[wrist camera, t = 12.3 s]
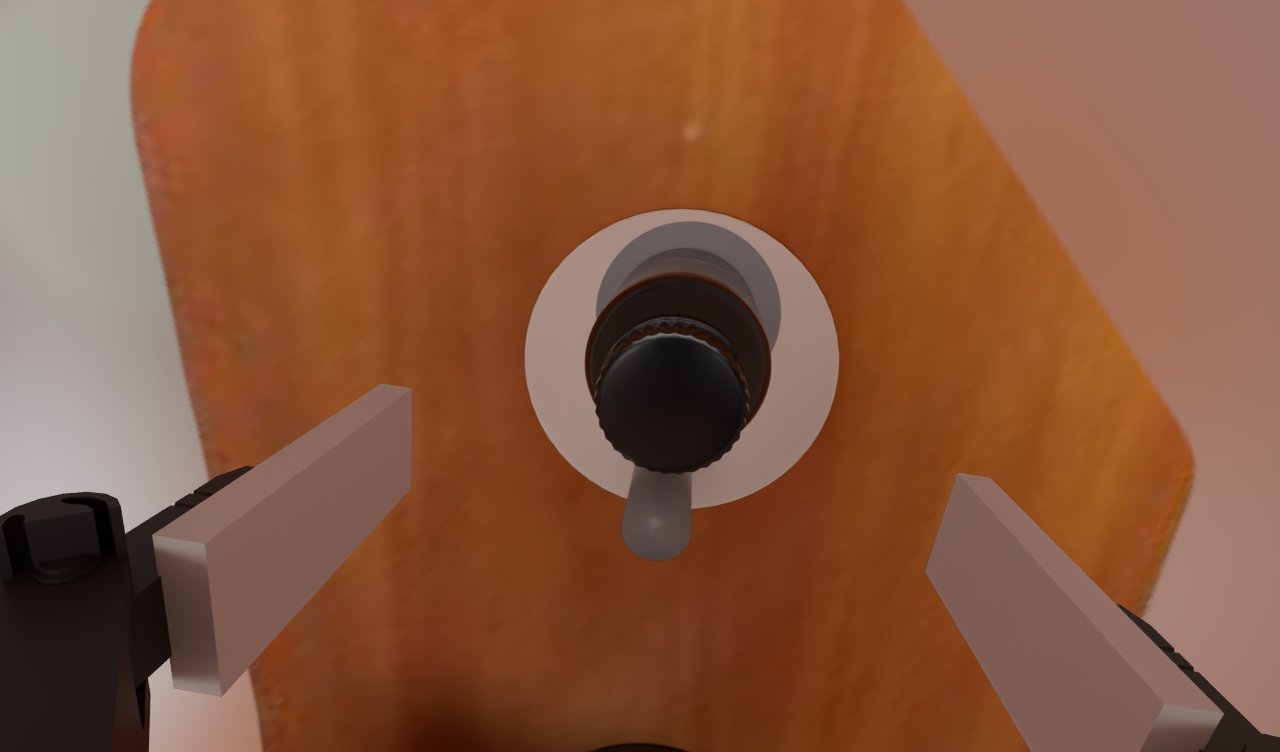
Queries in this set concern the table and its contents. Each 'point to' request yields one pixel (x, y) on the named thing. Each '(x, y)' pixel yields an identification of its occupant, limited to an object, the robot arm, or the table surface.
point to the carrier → (765, 443)
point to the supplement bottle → (678, 362)
